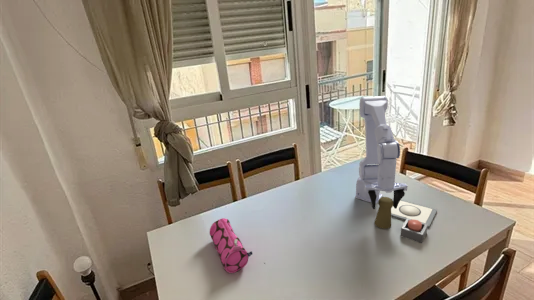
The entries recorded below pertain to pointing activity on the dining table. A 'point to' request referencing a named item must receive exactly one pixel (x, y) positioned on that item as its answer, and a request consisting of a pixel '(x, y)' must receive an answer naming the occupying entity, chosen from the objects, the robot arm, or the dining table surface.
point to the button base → (413, 232)
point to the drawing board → (413, 212)
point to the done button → (415, 225)
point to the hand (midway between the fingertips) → (384, 207)
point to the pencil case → (228, 246)
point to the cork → (384, 213)
